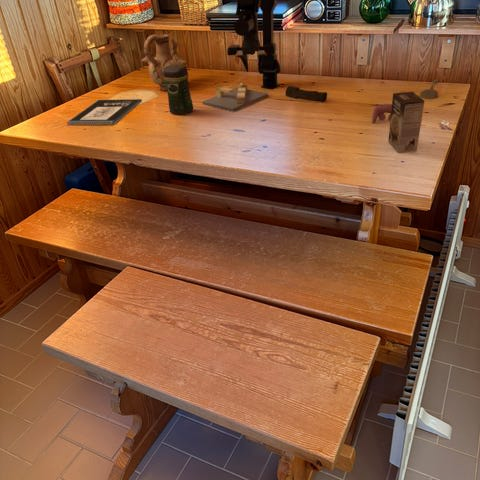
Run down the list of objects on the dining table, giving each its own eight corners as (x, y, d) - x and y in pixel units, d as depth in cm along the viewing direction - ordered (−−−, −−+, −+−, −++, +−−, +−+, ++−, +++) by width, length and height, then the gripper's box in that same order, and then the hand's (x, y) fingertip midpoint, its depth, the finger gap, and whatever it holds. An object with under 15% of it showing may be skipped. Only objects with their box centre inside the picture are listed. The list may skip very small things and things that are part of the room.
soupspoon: (417, 101, 182) (435, 103, 180) (419, 93, 180) (437, 95, 178) (427, 82, 197) (443, 84, 195) (429, 74, 195) (445, 76, 193)
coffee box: (387, 142, 151) (392, 92, 142) (406, 139, 151) (412, 90, 142) (397, 153, 143) (403, 102, 134) (417, 151, 144) (425, 99, 134)
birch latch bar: (238, 89, 206) (238, 85, 205) (247, 89, 206) (247, 84, 204) (235, 103, 191) (235, 98, 190) (245, 102, 191) (245, 97, 190)
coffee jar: (196, 109, 193) (190, 63, 183) (186, 116, 187) (179, 69, 177) (177, 107, 197) (169, 62, 186) (167, 114, 191) (158, 68, 181)
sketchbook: (142, 102, 210) (141, 97, 209) (114, 127, 186) (112, 122, 185) (99, 102, 215) (98, 97, 213) (66, 126, 191) (64, 121, 190)
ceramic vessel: (191, 90, 216) (182, 32, 202) (150, 97, 213) (139, 39, 198) (184, 80, 230) (176, 26, 216) (146, 86, 227) (135, 32, 213)
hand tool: (327, 100, 189) (328, 89, 186) (322, 103, 187) (323, 92, 184) (289, 94, 200) (289, 83, 197) (284, 97, 197) (283, 86, 194)
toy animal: (400, 125, 165) (402, 105, 164) (400, 124, 161) (402, 103, 160) (371, 124, 168) (374, 104, 167) (371, 122, 164) (373, 102, 163)
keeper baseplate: (238, 89, 210) (237, 78, 207) (268, 96, 199) (267, 84, 196) (202, 104, 198) (201, 92, 195) (232, 111, 187) (231, 99, 184)
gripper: (222, 35, 172) (226, 78, 181) (271, 33, 168) (273, 77, 177) (228, 29, 181) (232, 70, 190) (275, 27, 177) (277, 68, 186)
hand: (253, 71), depth 185 cm, fingers open, 4 cm apart
